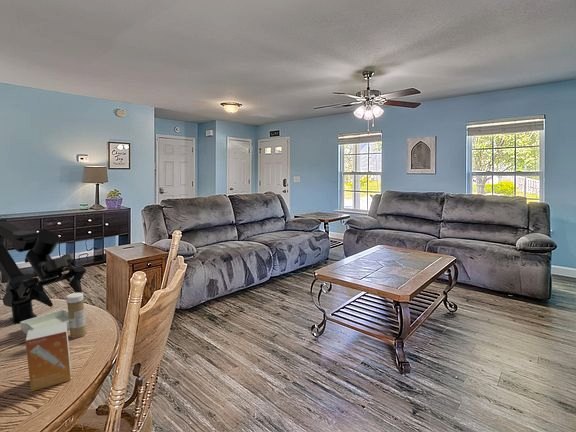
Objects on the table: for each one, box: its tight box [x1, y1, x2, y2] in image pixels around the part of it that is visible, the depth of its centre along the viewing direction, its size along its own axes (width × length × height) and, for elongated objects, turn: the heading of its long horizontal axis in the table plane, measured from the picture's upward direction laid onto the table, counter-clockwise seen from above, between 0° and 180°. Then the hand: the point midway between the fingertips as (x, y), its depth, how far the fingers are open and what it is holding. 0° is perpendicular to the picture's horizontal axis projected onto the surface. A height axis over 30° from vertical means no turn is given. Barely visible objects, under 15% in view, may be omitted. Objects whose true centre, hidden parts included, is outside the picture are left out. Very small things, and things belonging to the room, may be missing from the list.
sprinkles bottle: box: [65, 292, 87, 339], centre depth 105 cm, size 5×5×14 cm
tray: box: [20, 308, 70, 335], centre depth 111 cm, size 13×13×3 cm
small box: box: [25, 322, 72, 392], centre depth 82 cm, size 8×6×13 cm
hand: (67, 300), depth 106 cm, fingers open, 9 cm apart
